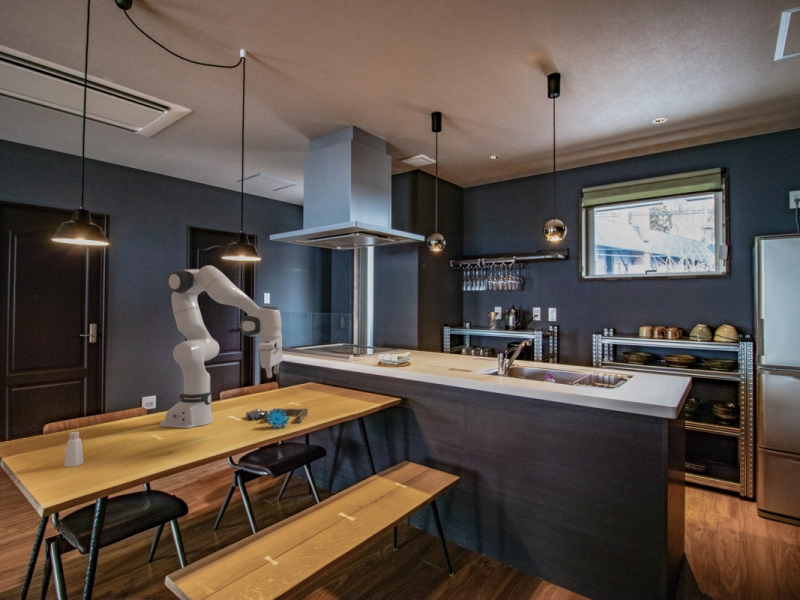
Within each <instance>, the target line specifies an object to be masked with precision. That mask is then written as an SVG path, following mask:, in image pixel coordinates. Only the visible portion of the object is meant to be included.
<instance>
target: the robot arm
mask: <svg viewBox="0 0 800 600" xmlns="http://www.w3.org/2000/svg"><path fill="white" fill-rule="evenodd" d="M167 285H168V287H169V289H170V290H171V291H172V293H171V305H172V307H171V308H172V313H173V316H174V320H175V323H176V327H177V331H179V332H180V334H182V335H183V336H184V337H185V339H186V340H185V341H182V342H180V343H178V344H177V345H175V347H174V348H173V350H172V357H173V359H174V361H175V362H176V363H177V364H178V365H179V366H180V369H181V372H182V374H183V375H182V377H183V393H181V394H179V395H178V399H180V400H179V401H178V402H177V403H176V404H174V405H173V406H171V408H169V409H168V410H167V412H166V415H165V418H164V420H162V421H161V422H160V423H159V427H161V428H175V429H176V428H179V429H190V428H194V427H200V426H205V425H210V424H211V423H214V422H215V421H214V417H213V413H212V405H211V404H212V391H211V375H210V373H209V372H208V371H207V370H206V366H205V362H207V361H210V360H212V359H214V358H215V357H217V355H218V354H219V352H220V345H219V343H218V341H217V340H216V339H214V338H213V337H212V336H211V334H210V332H209V330H208V329H207V327H206V326H205V323H204V320H203V316H202V313H201V310H200V306H199V303H198V296H199V295H200V296H204V295H205V294H206V293H207V295H208V296H209V297H210V298H211V299H212V300H214V301H215V302H217V303H218V304H222V305H227V306H233V307H236V308H239V309H241V310H242V311H244V312H245V313H246V314H247V315H245V316H243V317H242V318H241V320H240V324H239V328H240V331H241V333H242V334H243V335H244V336H246V337H258V336H260V342H259V343H258V346H257V348H258V351H259V362H260V367H261V368H262V369H265V372H266V377H267V378H268V379H271V378H273V374H274V375H276V374H277V375H278V374H279V373H280V372H279V368H280V363H281V362H282V361H283V359H284V358H283V348H282V347H283V334H282V331H281V329H282V316H281V312H280V311H281V310H280V308H278V307H276V306H272V305H271V306H270V305H264V306H263V305H262V306H260V305H259V304H258V303H257V302H256V301H254V299H252V298H251V297H250V296H249V295H248V294H246V293H245V292H244V291H242V290H241V289H240V288H238V286H236V285H235V284H234V283H233V282H232V281H231V279H229V278H228V277H227V276H226V275H225V274H224V273H223V272H222V271H221V270H220V269H218V268H217V267H215V266H214V265H210V264H209V265H204V266H202V267H201V268H199V269H197V268H191V269H177V270H176V269H175V270H174V271H172V272H170V274H169V275H168V278H167ZM272 367H273V372H272Z"/></svg>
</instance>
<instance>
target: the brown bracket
mask: <svg viewBox="0 0 800 600" xmlns="http://www.w3.org/2000/svg"><path fill="white" fill-rule="evenodd" d="M275 409H276V408H273V409H272V410H273V413H275V411H274V410H275ZM277 409H278V411H277V413H278V412H279V411H280V410H282V413H280V414H283V413H286V415H297V416H296V418H295V419H296V422H295V423H297V424H301V423H302V422H303V419H304V420H305V419H306V417H308V416H309V414H308V413H309V411H308V410H309V409H308V408H277ZM268 413H270V411H269V412H268ZM270 415H271V416H272V414H271V413H270ZM267 417H269V416H267V415H266V416H264V419H263V420H264V421H263V423H264V422H271V421H267ZM269 418H270V417H269ZM270 419H271V418H270Z"/></svg>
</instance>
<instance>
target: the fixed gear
mask: <svg viewBox="0 0 800 600" xmlns="http://www.w3.org/2000/svg"><path fill="white" fill-rule="evenodd" d="M268 413H269V412H268V410H263V409H260V408H255V409H254V410H251V411H247V412H246V413H245V420H246V419H252V420H255V419H263V418H264V416H266V415H267V414H268ZM252 420H251V421H252ZM263 420H264V419H263ZM255 421H256V420H255Z"/></svg>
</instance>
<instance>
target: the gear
mask: <svg viewBox="0 0 800 600" xmlns="http://www.w3.org/2000/svg"><path fill="white" fill-rule="evenodd" d="M274 409H275V410H274V411H275V413H273V409H271V410H269V412H270V413H271V414H272V416H271V415H270V413H269V412H268V414H267V416H269V417H270V418H271V419H270V418H269V417H267V421H270V422H269V423H268V425H269V426H271V427H272V428H273V429H275V428H277V429H278V430H280V429H281V428H283V427H284V428H286V425H288V423H289V421H288V420H290V419H291V416H286V413H283V414H280V413H282V410H280V411H279V412H278V413H277V411H278V409H279V408H274Z"/></svg>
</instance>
